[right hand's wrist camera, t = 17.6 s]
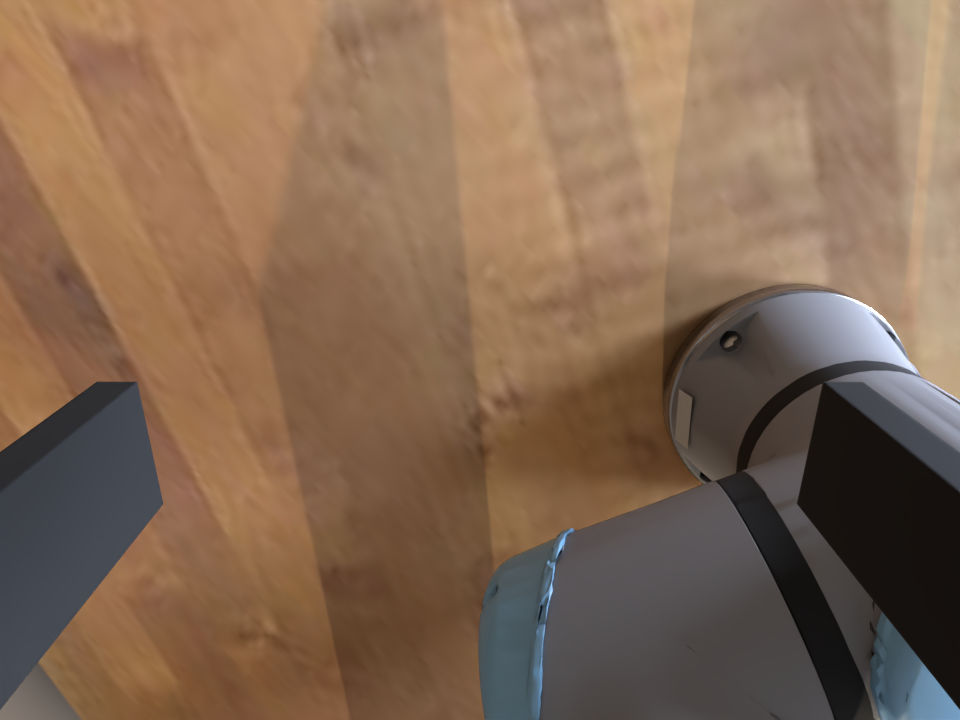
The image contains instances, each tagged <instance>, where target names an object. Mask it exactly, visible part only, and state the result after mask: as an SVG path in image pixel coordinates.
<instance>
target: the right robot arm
mask: <svg viewBox="0 0 960 720" xmlns="http://www.w3.org/2000/svg"><path fill="white" fill-rule="evenodd" d="M663 412H664V419H665V425H666V428H667V432H668V434H669V437H670V439H671V441H672V443H673V445H674V447H675V449H676V450H677V452H678V454H679V456H680V458H681V459H682V461H683V463H684V464H685V465H686V467H687V468H688V470H689V471H690V472H691V473H692V474H693V475H694V476H695V477H696V478H697V479H698V480H699V481H700V482H701V483H703V485H700V486H698V487H695V488H693V489H690V490H687V491H685V492H682V493H679V494H677V495H674V496H671V497H669V498H666V499H663V500H661V501H658V502H656V503H653V504H650V505H648V506H645V507H642V508H639V509H636V510H634V511H631V512H628V513H625V514H622V515H619V516H617V517H614V518H611V519H608V520H605V521H603V522H600V523H597V524H594V525H591V526H589V527H586V528H583V529H580V530H577V531H576V530H574V529H572V528H570V529H567V530H564V531H562V532H561V533H560V534H559V535H558V536H557V538H555V539H553V540H550V541H548V542H546V543H543V544H541V545H539V546H536V547H534V548H532V549H530V550H527V551H525V552H523V553H520V554H518V555H516V556H513V557H511V558H510V559H508V560H506V561H505V562H504V563H503V564H502V565H500V567H499V568H498V569H497V570H496V571H495V573H494V575H493V576H492V578H491V579H490V581H489V584H488V586H487V589H486V592H485V595H484V600H483V605H482V613H481V615H480V624H479V672H480V685H481V695H482V703H483V710H484V716H485V720H960V400H959V399H957V398H955V397H954V396H952V395H950V394H949V393H947V392H946V391H944V390H942V389H941V388H939V387H937V386H936V385H934V384H932V383H930V382H929V381H927V380H925V379H924V378H922V377H921V376H920V374H919V372H918V371H917V369H916V368H915V367H914V365H913V364H911V363H910V362H909V359H908V356H907V354H906V351H905V349H904V347H903V345H902V343H901V342H900V340H899V338H898V336H897V334H896V333H895V331H894V330H893V329H892V327H891V326H890V325H889V324H888V323H887V322H886V320H885V319H884V318H882V317H881V316H880V315H879V314H878V313H877V312H875V311H874V310H872V309H871V308H869V307H868V306H866V305H864V304H862V303H860V302H859V301H857V300H855V299H853V298H851V297H849V296H847V295H845V294H843V293H841V292H838V291H835V290H833V289H830V288H826V287H822V286H816V285H809V284H785V285H778V286H772V287H768V288H763V289H760V290H757V291H754V292H751V293H748V294H746V295H743V296H741V297H739V298H737V299H735V300H733V301H731V302H729V303H727V304H726V305H724V306H723V307H721V308H720V309H718V310H717V311H715V312H714V313H713V314H711V315H710V316H709V317H707V318H706V319H705V320H704V321H703V322H702V323H701V324H700V325H699V326H698V327H697V328H696V329H695V330H694V331H693V332H692V333H691V334H690V336H689V337H688V338H687V340H686V341H685V342H684V344H683V345H682V347H681V348H680V350H679V352H678V353H677V355H676V357H675V359H674V361H673V363H672V365H671V368H670V370H669V373H668V376H667V380H666V384H665V389H664V398H663ZM162 505H163V501H162V496H161V491H160V487H159V482H158V477H157V473H156V468H155V463H154V459H153V454H152V449H151V445H150V440H149V435H148V431H147V426H146V421H145V417H144V412H143V407H142V403H141V398H140V393H139V389H138V384H137V382H96V383H95V384H93V385H92V386H91V387H89V388H88V389H86V390H85V391H84V392H82V393H81V394H80V395H78V396H77V397H75V398H74V399H73V400H71V401H70V402H69V403H67V404H66V405H64V406H63V407H62V408H60V409H59V410H58V411H56V412H55V413H53V414H52V415H51V416H49V417H48V418H47V419H45V420H44V421H42V422H41V423H40V424H38V425H37V426H36V427H34V428H33V429H31V430H30V431H29V432H27V433H26V434H25V435H23V436H22V437H20V438H19V439H18V440H16V441H15V442H14V443H12V444H11V445H9V446H8V447H7V448H5V449H4V450H3V451H1V452H0V709H1V708H2V707H3V706H4V704H5V703H6V702H7V701H8V699H9V698H10V697H11V696H12V694H13V693H14V692H15V691H16V689H17V688H18V687H19V685H20V684H21V683H22V682H23V680H24V679H25V678H26V677H27V675H28V674H29V673H30V672H31V670H32V669H33V668H34V666H35V665H36V664H37V663H38V661H39V660H40V659H41V658H42V656H43V655H44V654H45V653H46V651H47V650H48V649H49V648H50V646H51V645H52V644H53V642H54V641H55V640H56V639H57V637H58V636H59V635H60V634H61V632H62V631H63V630H64V629H65V627H66V626H67V625H68V624H69V622H70V621H71V620H72V618H73V617H74V616H75V615H76V613H77V612H78V611H79V610H80V608H81V607H82V606H83V605H84V603H85V602H86V601H87V599H88V598H89V597H90V596H91V594H92V593H93V592H94V591H95V589H96V588H97V587H98V586H99V584H100V583H101V582H102V581H103V579H104V578H105V577H106V575H107V574H108V573H109V572H110V570H111V569H112V568H113V567H114V565H115V564H116V563H117V562H118V560H119V559H120V558H121V557H122V555H123V554H124V553H125V551H126V550H127V549H128V548H129V546H130V545H131V544H132V543H133V541H134V540H135V539H136V538H137V536H138V535H139V534H140V532H141V531H142V530H143V529H144V527H145V526H146V525H147V524H148V522H149V521H150V520H151V519H152V517H153V516H154V515H155V514H156V512H157V511H158V510H159V508H160V507H161V506H162Z"/></svg>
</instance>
